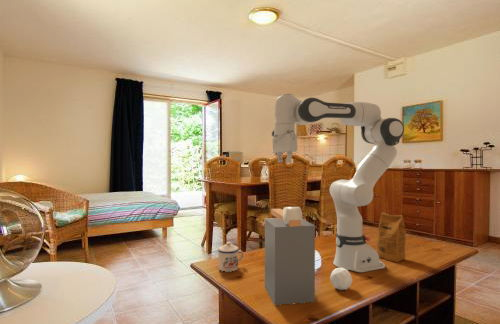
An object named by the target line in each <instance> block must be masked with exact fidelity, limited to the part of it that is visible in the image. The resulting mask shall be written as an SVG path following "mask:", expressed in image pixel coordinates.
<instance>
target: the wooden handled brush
mask: <svg viewBox="0 0 500 324" xmlns="http://www.w3.org/2000/svg"><path fill="white" fill-rule="evenodd" d="M270 214H271V215H272V216H274V218H278V219H279V220H281V221H282V222H284V224H285V225H288V226H289V227H293V226H301V223H302V219H303V211H302V208H301V207H300V206H285V207H283V208H270Z"/></svg>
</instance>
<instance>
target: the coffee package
mask: <svg viewBox="0 0 500 324" xmlns="http://www.w3.org/2000/svg"><path fill="white" fill-rule="evenodd" d="M380 215H381V216H380V218H379V223H378V229H377V238H376V251H377V253H378V255H379V258H382V259H384V260H386V261H390V262H395V263H399V262H401V261H403V260H405V259H406V237H407V235H406V233H407V230H406V225H405V221H404V215H403V214H401V215H400V214H398V215H397V214H388V213H386V212H381V214H380Z"/></svg>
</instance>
